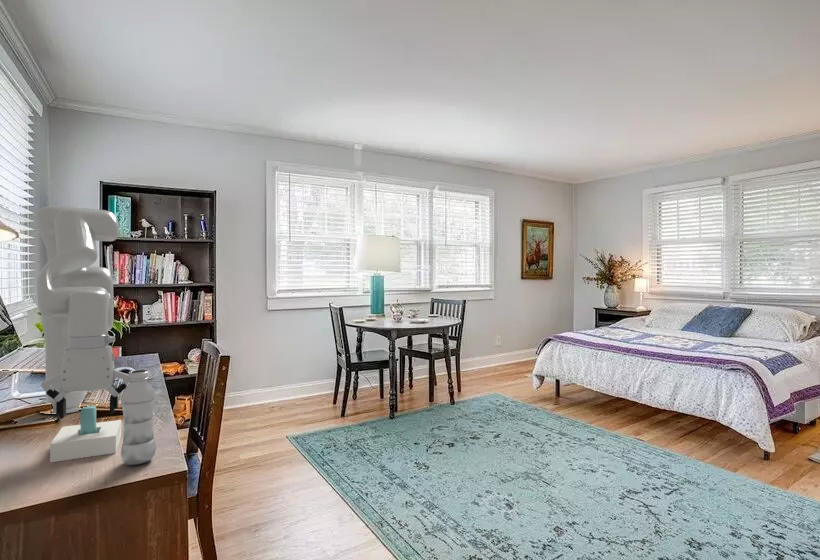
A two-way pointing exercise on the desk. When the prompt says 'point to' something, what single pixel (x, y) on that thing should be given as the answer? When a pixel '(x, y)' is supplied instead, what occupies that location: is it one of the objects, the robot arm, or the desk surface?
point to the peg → (88, 420)
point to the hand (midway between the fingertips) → (88, 414)
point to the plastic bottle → (138, 419)
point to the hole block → (86, 441)
